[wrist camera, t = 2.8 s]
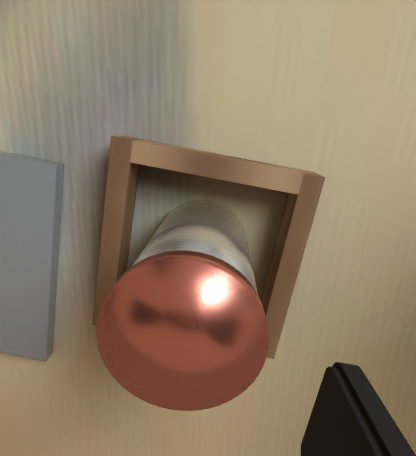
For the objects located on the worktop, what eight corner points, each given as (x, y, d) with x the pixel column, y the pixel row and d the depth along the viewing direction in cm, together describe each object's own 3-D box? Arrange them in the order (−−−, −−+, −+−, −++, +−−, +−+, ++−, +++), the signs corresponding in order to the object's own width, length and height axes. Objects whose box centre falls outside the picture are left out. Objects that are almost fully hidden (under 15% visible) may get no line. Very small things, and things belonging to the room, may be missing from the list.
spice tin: (257, 208, 18) (287, 279, 9) (237, 293, 19) (247, 423, 11) (162, 189, 18) (104, 244, 9) (149, 277, 19) (89, 394, 11)
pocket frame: (313, 172, 17) (324, 177, 15) (268, 337, 20) (273, 358, 18) (123, 136, 17) (111, 136, 15) (105, 306, 20) (92, 324, 18)
